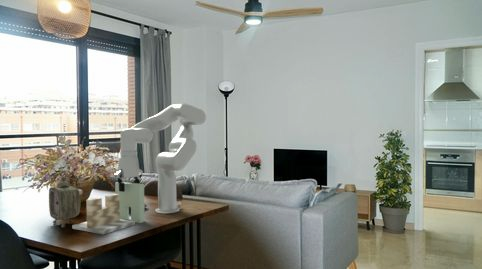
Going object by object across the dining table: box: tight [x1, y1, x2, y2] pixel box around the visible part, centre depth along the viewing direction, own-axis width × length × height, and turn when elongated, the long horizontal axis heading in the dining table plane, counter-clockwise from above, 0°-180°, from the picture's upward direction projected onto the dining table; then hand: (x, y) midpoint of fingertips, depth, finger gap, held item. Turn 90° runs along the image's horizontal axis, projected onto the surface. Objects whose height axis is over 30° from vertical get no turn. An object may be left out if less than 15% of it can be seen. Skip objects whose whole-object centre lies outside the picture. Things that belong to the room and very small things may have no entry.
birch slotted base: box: [71, 193, 136, 235], centre depth 176 cm, size 18×20×14 cm
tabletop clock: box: [48, 170, 81, 229], centre depth 180 cm, size 14×9×25 cm, turn 45°
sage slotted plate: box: [114, 181, 146, 224], centre depth 187 cm, size 3×16×18 cm, turn 60°
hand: (129, 189), depth 187 cm, fingers open, 9 cm apart
